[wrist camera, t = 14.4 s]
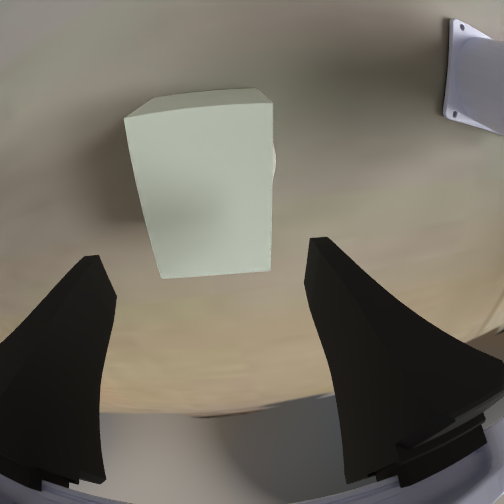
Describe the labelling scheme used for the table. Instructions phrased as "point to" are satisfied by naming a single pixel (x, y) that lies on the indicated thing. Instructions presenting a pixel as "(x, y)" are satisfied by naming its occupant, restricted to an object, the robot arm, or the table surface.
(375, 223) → the table surface
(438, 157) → the table surface
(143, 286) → the table surface
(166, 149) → the pale green block
